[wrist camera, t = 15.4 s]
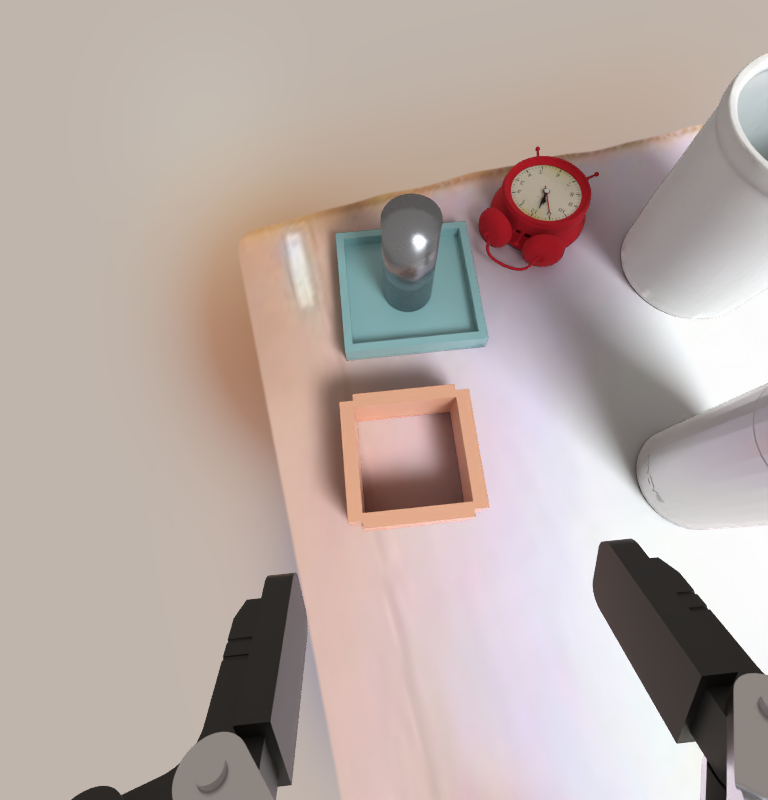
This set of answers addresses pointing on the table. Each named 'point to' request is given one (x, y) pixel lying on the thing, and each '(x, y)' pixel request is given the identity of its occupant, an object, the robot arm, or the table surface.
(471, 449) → the light orange open box
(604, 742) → the table surface
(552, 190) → the alarm clock
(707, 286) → the utensil holder
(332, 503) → the table surface
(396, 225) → the canister
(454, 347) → the teal tray
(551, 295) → the table surface
